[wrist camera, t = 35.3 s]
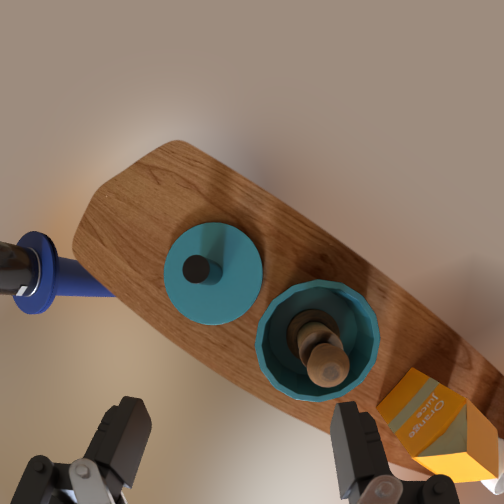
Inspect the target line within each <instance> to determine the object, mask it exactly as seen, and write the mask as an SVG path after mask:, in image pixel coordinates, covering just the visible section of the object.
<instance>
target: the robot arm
mask: <svg viewBox="0 0 504 504" xmlns="http://www.w3.org/2000/svg"><path fill="white" fill-rule="evenodd" d="M41 277H42V264H41V259H40V256H39V254H38V252H37V251H36V250H35V249H33V248H26V247H22V246H18V245H14V244H9V243H5V242H1V241H0V295H14V296H25V297H31V296H33V295H34V294H35V293H36V292H37V290H38V288H39V286H40V282H41ZM151 426H152V423H151V418H150V416H149V414H148V412H147V409H146V407H145V405H144V403H143V400H142V399H140V398H134V397H129V396H124V397H123V398H122V400H121V402H120V404H119V406H115V405H114V406H112V407H111V408H110V409H109V410H108V411H107V412H106V413H105V415H104V417H103V419H102V420H101V423H100V425H99V426H98V430H97V431H96V433H95V435H94V437H93V439H92V441H91V443H90V445H89V447H88V449H87V451H86V453H85V455H84V457H83V458H81V459H77V460H75V461H74V462H73V463H72V464H61V463H52V462H51V461H50V460H49V459H48V458H47V457H45V456H43V455H38V456H34V457H33V458H31V460H30V461H29V462H28V465H27V467H26V469H25V471H24V473H23V475H22V478H21V480H20V482H19V484H18V487H17V489H16V491H15V494H14V496H13V498H12V501H11V503H10V504H128V503H127V501H126V499H125V496H124V495H123V492H122V491H121V490H122V487H123V486H124V487H127V488H132V485H133V482H134V479H135V476H136V473H137V470H138V467H139V464H140V461H141V458H142V455H143V452H144V450H145V446H146V444H147V441H148V438H149V435H150V432H151V428H152V427H151ZM330 435H331V441H332V447H333V453H334V459H335V465H336V471H337V478H338V484H339V491H340V498H341V499H347V498H348V499H349V504H460V502H459V499H458V495H457V492H456V488H455V485H454V482H453V480H452V479H451V478H450V477H449V476H447V475H444V474H437V475H434V476H432V477H430V478H429V479H428V480H427V481H403V480H400V479H398V478H396V477H395V476H394V475H393V474H392V473H391V471H390V468H389V465H388V461H387V458H386V455H385V451H384V448H383V445H382V441H381V438H380V435H379V433H378V428H377V425H376V422H375V420H374V419H373V418H372V416H371V415H370V414H369V413H368V412H362V413H359V411H358V408H357V405H356V402H355V401H351V402H343V403H337V404H336V406H335V410H334V414H333V417H332V421H331V426H330Z"/></svg>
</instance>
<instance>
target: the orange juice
mask: <svg viewBox="0 0 504 504" xmlns="http://www.w3.org/2000/svg"><path fill="white" fill-rule="evenodd" d="M376 409H377V410H378V412H379V413H380V414H381V416H382V417H383V418H384V420H385V421H386V423H387V424H388V426H389V427H390V429H391V430H392V432H393V433H394V434H395V435H396V436H397V438H398V439H399V440H400V442H401V443H402V445H403V446H404V447H405V449H406V450H407V451H408V453H409V454H410V456H411V458H412V459H414V460H415V461H417V462H418V463H420V464H421V465H423V466H424V467H426V468H427V469H429V470H430V471H432V472H433V473H435V474H436V475H437V474H444V475H447V476H449V477H450V478H451V479H452V480H453V482H454V483H455V482H470V481H480V480H488V479H495V478H497V479H498V475H499V453H498V433H497V429H496V428H495V427H494V426H493V425H492V424H491V423H490V421H489V420H488V419H487V418H486V417H485V416H484V415H483V414H482V413H481V412H480V411H479V410H478V409H477V408H476V407H475V406H474V404H473V403H472V402H471V401H470V400H469V399H468V398H467V397H466V398H464V397H463V396H461V395H459V394H457V393H456V392H454V391H452V390H451V389H449V388H447V387H445V386H444V385H442V384H440V383H439V382H438V381H436V380H434V379H433V378H431V377H428V376H427V375H425V374H423V373H422V372H420V371H418V370H417V369H415V368H413V367H411V369H410V370H409V371H408V372H407V373H406V375H405V376H404V377H403V378H402V379H401V381H400V382H399V383H398V384H397V385H396V386H395V387H394V389H393V390H392V391H391V392H390V393H389V394H388V395H387V396H386V397H385V398H384V399H383V401H382V402H381V403H380V404H379V405H378V406H377V407H376Z"/></svg>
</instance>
